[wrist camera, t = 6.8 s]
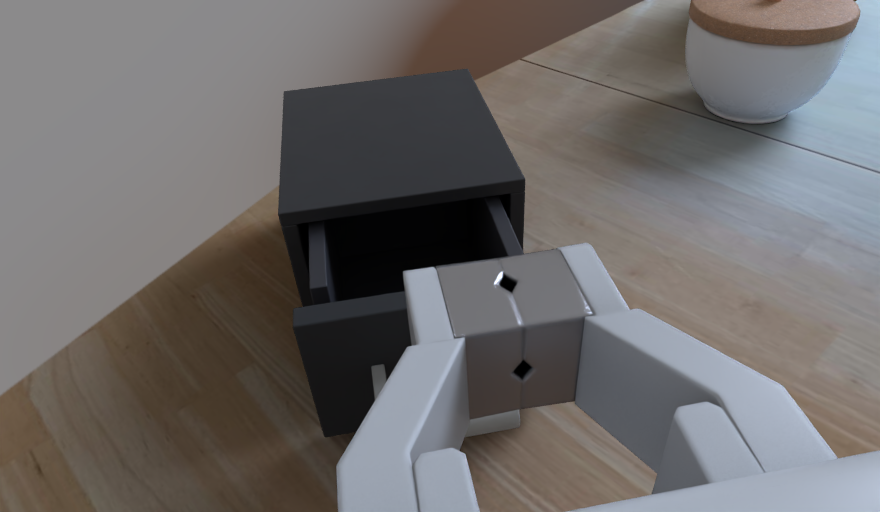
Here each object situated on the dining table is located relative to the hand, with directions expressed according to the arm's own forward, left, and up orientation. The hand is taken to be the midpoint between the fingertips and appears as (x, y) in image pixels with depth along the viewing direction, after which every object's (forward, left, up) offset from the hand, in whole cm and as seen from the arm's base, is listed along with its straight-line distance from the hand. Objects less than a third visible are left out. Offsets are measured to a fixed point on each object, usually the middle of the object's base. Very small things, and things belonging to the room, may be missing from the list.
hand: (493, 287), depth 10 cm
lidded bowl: (+33, +41, -21) cm, 56 cm away
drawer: (0, +17, -20) cm, 26 cm away
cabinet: (0, +27, -20) cm, 34 cm away
